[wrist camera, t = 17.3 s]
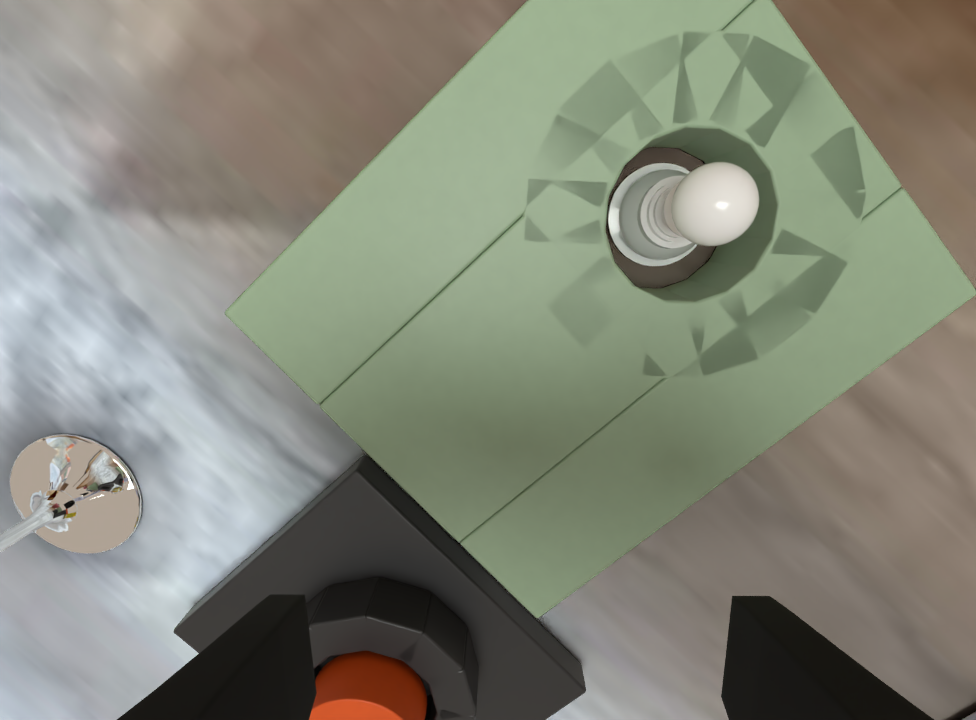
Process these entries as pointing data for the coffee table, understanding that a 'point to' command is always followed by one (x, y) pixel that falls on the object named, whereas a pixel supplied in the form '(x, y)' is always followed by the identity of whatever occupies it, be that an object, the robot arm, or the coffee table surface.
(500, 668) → the panel
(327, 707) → the button
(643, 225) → the chess pawn
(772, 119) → the pod holder
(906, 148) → the coffee table surface
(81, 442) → the wineglass
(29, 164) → the coffee table surface
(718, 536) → the coffee table surface
